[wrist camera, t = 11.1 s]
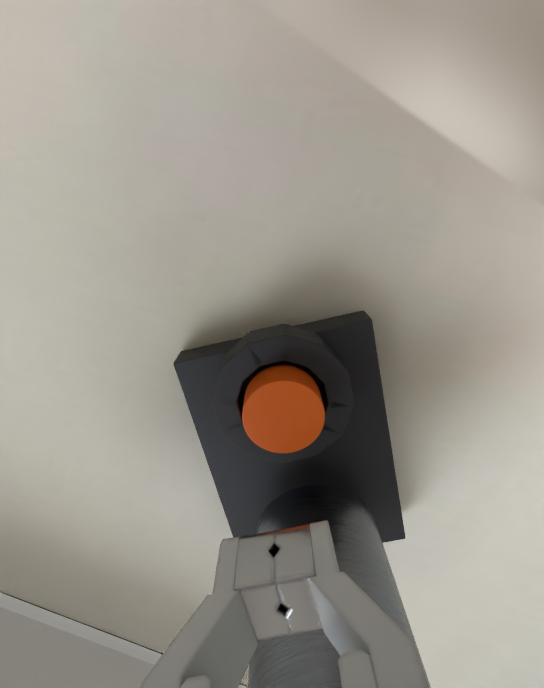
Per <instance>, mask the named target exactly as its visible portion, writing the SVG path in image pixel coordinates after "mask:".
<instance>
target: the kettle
mask: <svg viewBox="0 0 544 688" xmlns="http://www.w3.org/2000/svg"><path fill="white" fill-rule="evenodd" d="M325 520H327V521H328V523H329V527H330V531H331V536H332V540H333V545H334V549H335V553H336V558H337V562H338V567H339V571H340V572H344V573H345V574H346V575H348V576H349V577H350V578H351V579H352V580H353V581H354V582H355V583H356V584H357V585H358V586H359V587H360V588H361V589H362V590H363V591H364V592H365V593H366V594H367V595H368V596H369V597H370V598H371V599H372V600H373V601H374V602H375V603H376V604H377V605H378V606H379V607H380V608H381V609H382V610H383V611H384V612H385V613H386V614H387V615H388V616H389V617H390V618H391V619H392V620H393V621H394V622H395V623H396V624H397V625H398V626H399V627H400V628H401V629H402V630H403V631H404V632H405V633H406V634H407V635H408V636H409V637H410V638H411V639H412V640H413V642H414V645H415V648H416V651H417V654H418V657H419V660H420V663H421V666H422V668H423V671H424V674H425V677H426V680H427V683H428V686H429V688H431V687H430V684H429V681H428V678H427V675H426V672H425V669H424V666H423V663H422V660H421V657H420V654H419V651H418V648H417V645H416V642H415V639H414V636H413V633H412V630H411V627H410V624H409V621H408V618H407V615H406V612H405V609H404V606H403V603H402V600H401V597H400V594H399V591H398V588H397V585H396V582H395V579H394V576H393V573H392V570H391V567H390V564H389V561H388V558H387V555H386V552H385V549H384V546H383V543H382V540H381V537H380V534H379V531H378V528H377V525H376V522H375V519H374V517H373V515H372V512H371V511H370V509H369V508H368V506H367V505H366V504H365V503H364V502H363V501H362V500H361V499H359V498H358V497H357V496H355V495H354V494H352V493H350V492H348V491H346V490H344V489H341V488H337V487H333V486H327V485H310V486H303V487H299V488H295V489H292V490H290V491H287V492H285V493H283V494H281V495H280V496H278V497H277V498H275V499H274V500H273V501H272V502H271V503H270V504H269V505H268V506H267V507H266V508H265V509H264V511H263V512H262V514H261V516H260V518H259V520H258V523H257V526H256V534H258V533H264V532H270V531H275V530H280V529H285V528H290V527H296V526H301V525H306V524H310V523H315V522H320V521H325ZM340 657H341V656H340V655H339V653H338V652H337V650H336V649H335V647H334V646H333V645H332V643H331V642H330V640H329V639H328V638H327V636H326V635H325V633H324V631H320V632H313V633H305V634H297V635H290V636H285V637H280V638H275V639H270V640H265V641H260V642H258V646H257V648H256V650H255V652H254V654H253V656H252V659H251V661H250V663H249V683H248V688H342V686H341V679H340V671H339V664H338V660H339V658H340Z"/></svg>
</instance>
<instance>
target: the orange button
mask: <svg viewBox="0 0 544 688" xmlns="http://www.w3.org/2000/svg"><path fill="white" fill-rule="evenodd" d="M242 422H243V426H244V429H245V431H246V433H247V435H248V436H249V438H250V439H251V440H252V441H253V442H254V443H255V444H257V445H258V446H259V447H261V448H263V449H265V450H268V451H271V452H275V453H291V452H296V451H299V450H301V449H303V448H305V447H307V446H309V445H310V444H311V443H312V442H314V441H315V440H316V438H317V437H318V436H319V434H320V433H321V431H322V429H323V426H324V422H325V410H324V406H323V402H322V399H321V395H320V391H319V388H318V386H317V384H316V382H315V380H314V379H313V378H312V377H311V376H310V375H309V374H308V373H307V372H305V371H304V370H302V369H300V368H297V367H294V366H290V365H277V366H272V367H269V368H266V369H264V370H262V371H261V372H259V373H258V374H256V375H255V376H254V377H253V378H252V380H251V381H250V383H249V384H248V386H247V389H246V392H245V398H244V405H243V412H242Z"/></svg>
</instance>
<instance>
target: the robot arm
mask: <svg viewBox="0 0 544 688" xmlns="http://www.w3.org/2000/svg"><path fill="white" fill-rule="evenodd" d="M320 631H324V633H325V635H326V636H327V638H328V639H329V640H330V642H331V643H332V645H333V646H334V647H335V649H336V650H337V652H338V653H339V655H340V656H341V657H340V658H339V660H338V664H339V671H340V679H341V686H342V688H429V686H428V683H427V680H426V677H425V674H424V671H423V668H422V666H421V663H420V660H419V657H418V654H417V651H416V648H415V645H414V642H413V640H412V639H411V638H410V637H409V636H408V635H407V634H406V633H405V632H404V631H403V630H402V629H401V628H400V627H399V626H398V625H397V624H396V623H395V622H394V621H393V620H392V619H391V618H390V617H389V616H388V615H387V614H386V613H385V612H384V611H383V610H382V609H381V608H380V607H379V606H378V605H377V604H376V603H375V602H374V601H373V600H372V599H371V598H370V597H369V596H368V595H367V594H366V593H365V592H364V591H363V590H362V589H361V588H360V587H359V586H358V585H357V584H356V583H355V582H354V581H353V580H352V579H351V578H350V577H349V576H348V575H346V574H345V573H344V572H340V571H339V567H338V562H337V558H336V553H335V549H334V545H333V540H332V536H331V531H330V527H329V523H328V521H327V520H325V521H320V522H315V523H310V524H306V525H301V526H296V527H290V528H285V529H280V530H275V531H270V532H264V533H258V534H251V535H245V536H240V537H235V538H228V539H223V540H222V542H221V544H220V549H219V555H218V562H217V568H216V575H215V581H214V588H213V594H211V595H207V596H206V597H205V599H204V600H203V601H202V603H201V604H200V605H199V607H198V608H197V609H196V611H195V612H194V613H193V615H192V616H191V617H190V619H189V620H188V621H187V623H186V624H185V625H184V627H183V628H182V629H181V631H180V632H179V633H178V635H177V636H176V637H175V639H174V640H173V641H172V643H171V644H170V645H169V647H168V648H167V649H166V651H165V652H164V653H163V655H162V656H161V657H160V659H159V660H158V661H157V663H156V664H155V665H154V667H153V668H152V669H151V671H150V672H149V673H148V675H147V676H146V677H145V679H144V680H143V681H142V683H141V685H140V688H238V686H239V684H240V682H241V680H242V678H243V675H244V673H245V671H246V669H247V667H248V665H249V663H250V661H251V659H252V656H253V654H254V652H255V650H256V648H257V646H258V642H260V641H265V640H270V639H275V638H280V637H285V636H290V635H297V634H305V633H313V632H320Z"/></svg>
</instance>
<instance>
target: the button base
mask: <svg viewBox="0 0 544 688" xmlns="http://www.w3.org/2000/svg"><path fill="white" fill-rule="evenodd" d="M277 365H290V366H294V367H297V368H300V369H302V370H304V371H305V372H307V373H308V374H309V375H310V376H311V377H312V378H313V379H314V380H315V382H316V384H317V386H318V388H319V391H320V395H321V399H322V402H323V406H324V410H325V422H324V426H323V429H322V431H321V433H320V434H319V436H318V437H317V438H316V440H315V441H314V442H312V443H311V444H310V445H309V446H307V447H305V448H303V449H301V450H299V451H296V452H291V453H275V452H271V451H268V450H265V449H263V448H261V447H259V446H258V445H257V444H255V443H254V442H253V441H252V440H251V439H250V438H249V436H248V435H247V433H246V431H245V429H244V426H243V422H242V412H243V405H244V398H245V392H246V389H247V386H248V384H249V383H250V381H251V380H252V378H253V377H254V376H255V375H256V374H258V373H259V372H261V371H262V370H264V369H266V368H269V367H272V366H277ZM174 367H175V370H176V372H177V375H178V378H179V381H180V384H181V387H182V390H183V393H184V396H185V398H186V401H187V404H188V407H189V410H190V413H191V416H192V419H193V422H194V424H195V427H196V430H197V433H198V436H199V439H200V442H201V445H202V448H203V450H204V453H205V456H206V459H207V462H208V465H209V468H210V471H211V474H212V476H213V479H214V482H215V485H216V488H217V491H218V494H219V497H220V500H221V503H222V505H223V508H224V511H225V514H226V517H227V520H228V523H229V526H230V529H231V531H232V534H233V537H234V538H235V537H240V536H245V535H251V534H256V526H257V523H258V520H259V518H260V516H261V514H262V512H263V511H264V509H265V508H266V507H267V506H268V505H269V504H270V503H271V502H272V501H273V500H274V499H275V498H277V497H278V496H280V495H281V494H283V493H285V492H287V491H290V490H292V489H295V488H299V487H303V486H310V485H327V486H333V487H337V488H341V489H344V490H346V491H348V492H350V493H352V494H354V495H355V496H357V497H358V498H359V499H361V500H362V501H363V502H364V503H365V504H366V505H367V506H368V508H369V509H370V511H371V512H372V515H373V517H374V519H375V522H376V525H377V528H378V531H379V534H380V537H381V540H382V543H383V542H388V541H394V540H399V539H405V533H404V526H403V520H402V513H401V507H400V500H399V494H398V487H397V481H396V474H395V468H394V461H393V455H392V448H391V442H390V435H389V429H388V422H387V416H386V409H385V403H384V396H383V390H382V383H381V377H380V370H379V364H378V357H377V351H376V344H375V338H374V331H373V324H372V319H371V318H370V317H369V316H368V315H367V314H366V313H365V312H364V311H359V312H355V313H350V314H346V315H341V316H337V317H333V318H328V319H324V320H319V321H315V322H310V323H306V324H301V325H297V326H291V325H287V324H281V325H276V326H272V327H267V328H263V329H259V330H254V331H250V333H247V334H246V335H245V336H244V337H243V338H239V339H235V340H230V341H226V342H221V343H217V344H212V345H208V346H204V347H199V348H195V349H190V350H186V351H181V352H180V354H179V355H178V357H177V359H176V360H175V362H174Z"/></svg>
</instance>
